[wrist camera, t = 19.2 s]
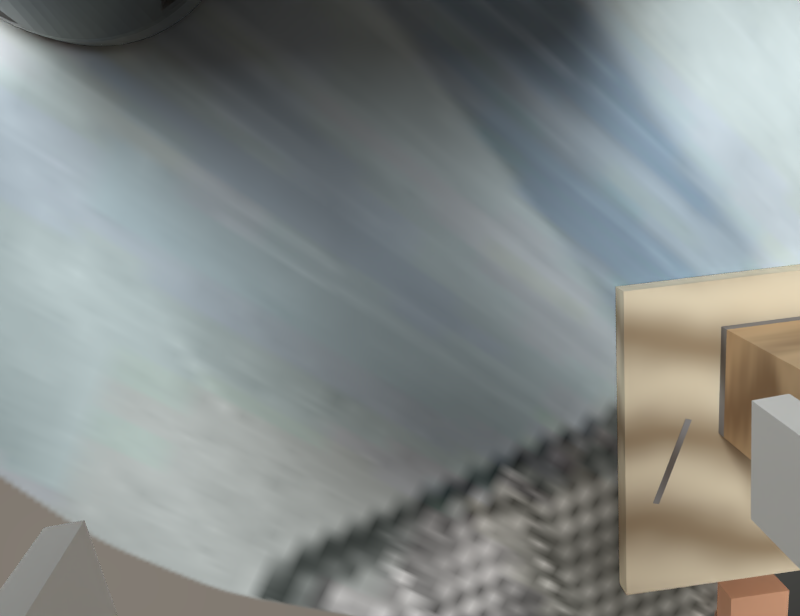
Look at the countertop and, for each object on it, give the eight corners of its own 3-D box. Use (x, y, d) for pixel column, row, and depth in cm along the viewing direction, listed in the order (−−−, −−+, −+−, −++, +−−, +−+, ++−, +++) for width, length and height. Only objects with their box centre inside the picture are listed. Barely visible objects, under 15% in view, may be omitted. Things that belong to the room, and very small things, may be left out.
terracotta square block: (715, 579, 46) (731, 598, 44) (770, 571, 47) (789, 590, 45) (714, 626, 48) (729, 647, 46) (768, 618, 48) (785, 639, 46)
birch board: (615, 286, 40) (623, 291, 38) (904, 251, 41) (921, 255, 39) (619, 583, 45) (626, 595, 44) (871, 547, 46) (885, 558, 45)
